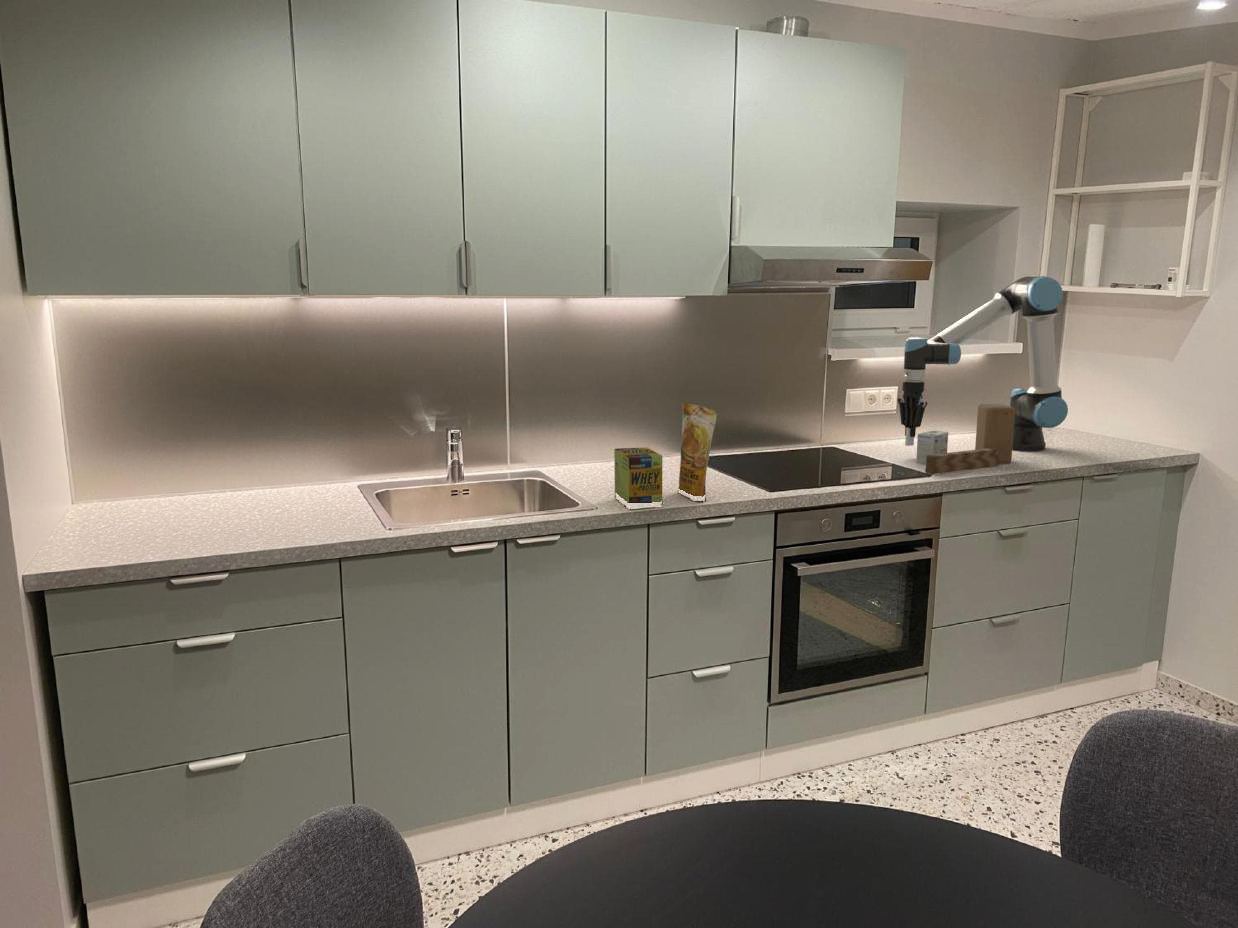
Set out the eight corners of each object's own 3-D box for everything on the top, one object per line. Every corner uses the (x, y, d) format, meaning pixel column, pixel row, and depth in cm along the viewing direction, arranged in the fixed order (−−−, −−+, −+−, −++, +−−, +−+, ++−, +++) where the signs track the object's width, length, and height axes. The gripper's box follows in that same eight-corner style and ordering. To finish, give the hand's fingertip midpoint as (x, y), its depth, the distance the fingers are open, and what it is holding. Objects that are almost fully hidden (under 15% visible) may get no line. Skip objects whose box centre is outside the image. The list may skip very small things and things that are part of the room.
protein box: (628, 510, 265) (628, 457, 262) (614, 498, 280) (613, 448, 277) (663, 507, 268) (663, 455, 265) (647, 496, 283) (647, 446, 280)
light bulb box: (929, 458, 336) (931, 429, 333) (947, 461, 331) (949, 431, 329) (915, 463, 328) (916, 433, 326) (933, 465, 323) (934, 435, 321)
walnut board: (991, 464, 324) (992, 447, 323) (997, 466, 322) (999, 449, 320) (925, 472, 312) (926, 455, 311) (932, 474, 309) (933, 456, 308)
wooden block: (1012, 464, 325) (1016, 407, 321) (983, 464, 325) (987, 407, 321) (1001, 458, 335) (1005, 403, 331) (973, 458, 335) (977, 403, 331)
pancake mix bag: (690, 489, 291) (691, 400, 286) (718, 502, 274) (720, 408, 268) (671, 491, 289) (671, 402, 283) (698, 504, 271) (699, 410, 266)
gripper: (893, 379, 338) (889, 443, 343) (918, 383, 326) (914, 449, 331) (909, 378, 341) (904, 441, 346) (934, 382, 330) (930, 447, 334)
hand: (909, 445), depth 338 cm, fingers closed
